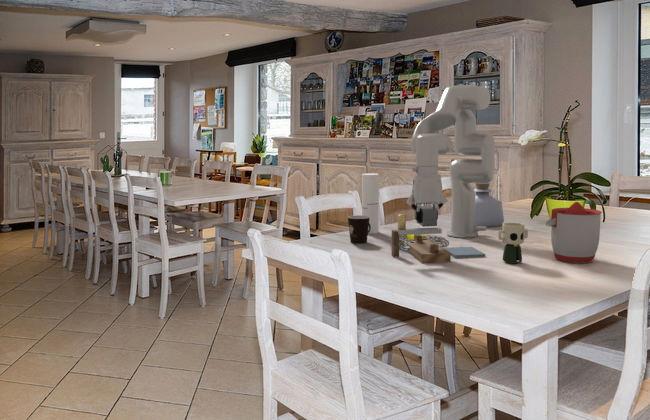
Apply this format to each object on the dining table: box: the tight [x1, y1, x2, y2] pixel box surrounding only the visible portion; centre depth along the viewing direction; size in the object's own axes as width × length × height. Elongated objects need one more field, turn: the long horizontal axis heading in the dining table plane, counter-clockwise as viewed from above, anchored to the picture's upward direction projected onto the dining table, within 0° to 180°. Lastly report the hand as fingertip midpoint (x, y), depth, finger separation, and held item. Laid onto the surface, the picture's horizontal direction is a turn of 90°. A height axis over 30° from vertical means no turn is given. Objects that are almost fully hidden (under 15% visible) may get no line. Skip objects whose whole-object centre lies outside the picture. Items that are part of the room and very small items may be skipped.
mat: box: [442, 246, 486, 259], centre depth 220 cm, size 11×13×1 cm
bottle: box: [473, 182, 505, 228], centre depth 282 cm, size 20×20×19 cm
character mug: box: [497, 222, 529, 264], centre depth 205 cm, size 11×7×13 cm, turn 106°
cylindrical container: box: [361, 172, 380, 235], centre depth 262 cm, size 7×7×25 cm
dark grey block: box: [416, 204, 438, 228], centre depth 216 cm, size 5×8×6 cm, turn 7°
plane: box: [391, 229, 452, 264], centre depth 217 cm, size 17×24×9 cm
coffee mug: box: [347, 214, 371, 245], centre depth 240 cm, size 12×9×10 cm
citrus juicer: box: [545, 201, 603, 264], centre depth 207 cm, size 16×17×20 cm
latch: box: [397, 213, 443, 236], centre depth 207 cm, size 15×3×7 cm, turn 97°
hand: (426, 221), depth 217 cm, fingers closed on dark grey block, 5 cm apart
